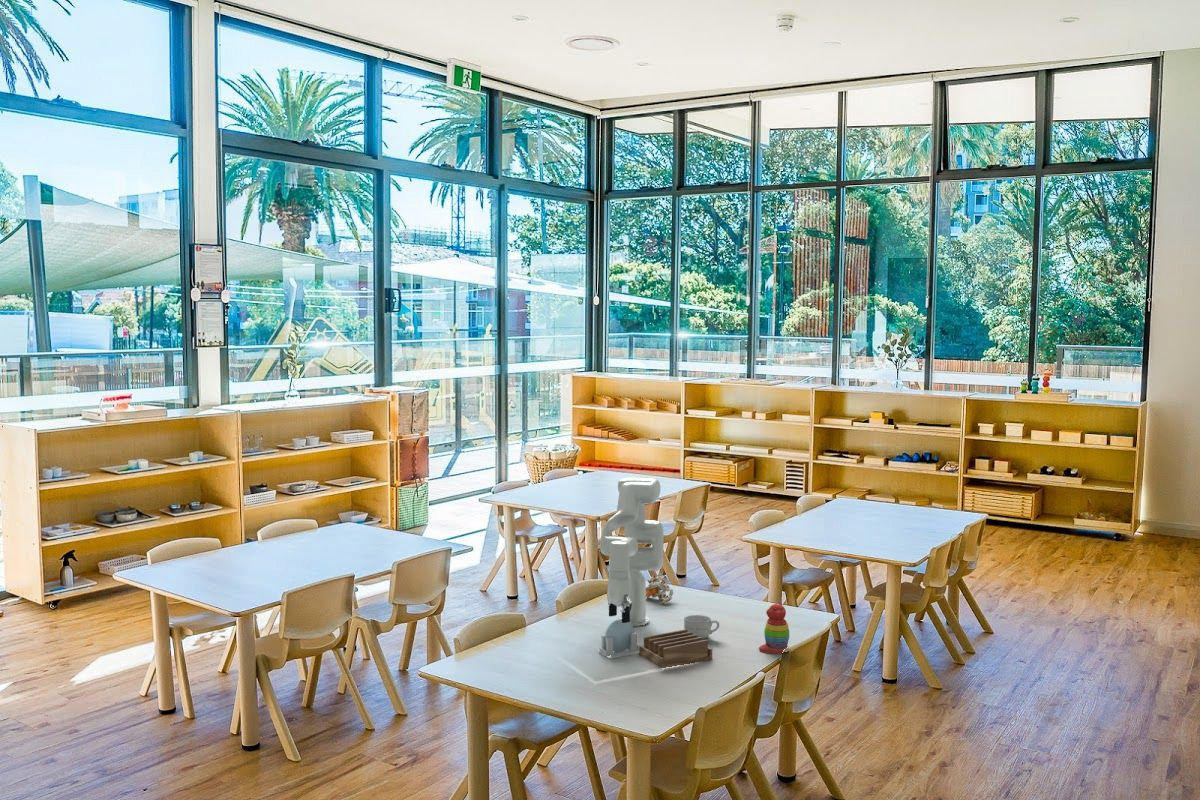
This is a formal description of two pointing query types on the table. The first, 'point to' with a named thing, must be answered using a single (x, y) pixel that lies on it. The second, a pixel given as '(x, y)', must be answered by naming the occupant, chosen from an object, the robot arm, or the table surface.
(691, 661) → the rack
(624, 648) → the plate
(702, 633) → the teacup
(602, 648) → the holder
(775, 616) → the stacking bear
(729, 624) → the table surface
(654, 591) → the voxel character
